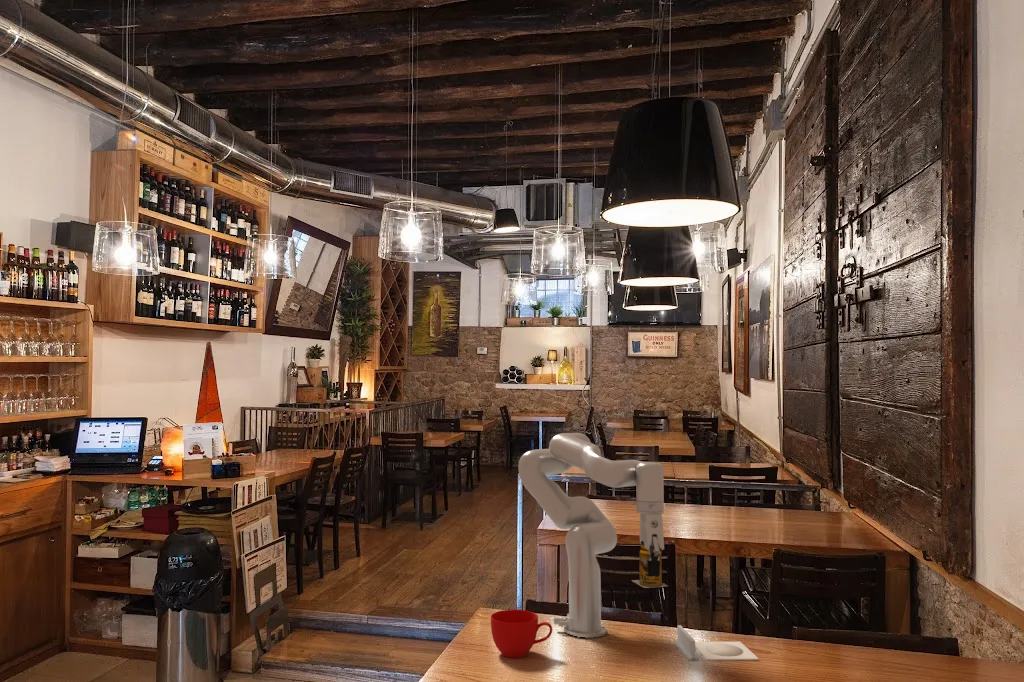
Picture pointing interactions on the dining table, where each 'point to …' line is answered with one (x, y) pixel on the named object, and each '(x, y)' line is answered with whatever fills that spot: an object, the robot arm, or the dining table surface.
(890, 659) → the dining table surface
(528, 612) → the ceramic cup
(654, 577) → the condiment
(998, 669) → the dining table surface
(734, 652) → the pad
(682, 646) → the low wall
